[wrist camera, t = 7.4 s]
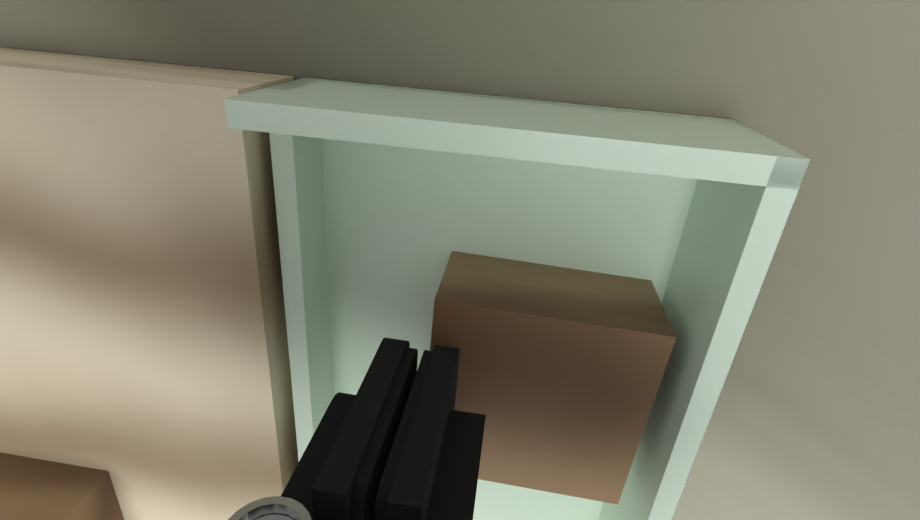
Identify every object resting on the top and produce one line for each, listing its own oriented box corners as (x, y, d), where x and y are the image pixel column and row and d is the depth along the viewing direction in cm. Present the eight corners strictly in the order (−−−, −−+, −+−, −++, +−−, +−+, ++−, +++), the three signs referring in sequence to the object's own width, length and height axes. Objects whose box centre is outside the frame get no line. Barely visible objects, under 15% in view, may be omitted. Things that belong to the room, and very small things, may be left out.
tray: (305, 77, 12) (223, 98, 9) (732, 119, 11) (809, 160, 8) (334, 593, 21) (298, 695, 18) (573, 638, 20) (580, 754, 17)
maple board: (-158, 31, 13) (-301, 35, 11) (293, 76, 12) (237, 89, 10) (56, 540, 22) (2, 601, 20) (327, 591, 21) (302, 661, 19)
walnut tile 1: (676, 337, 10) (651, 280, 13) (434, 299, 11) (452, 250, 13) (617, 504, 13) (605, 430, 15) (419, 468, 13) (436, 401, 15)
